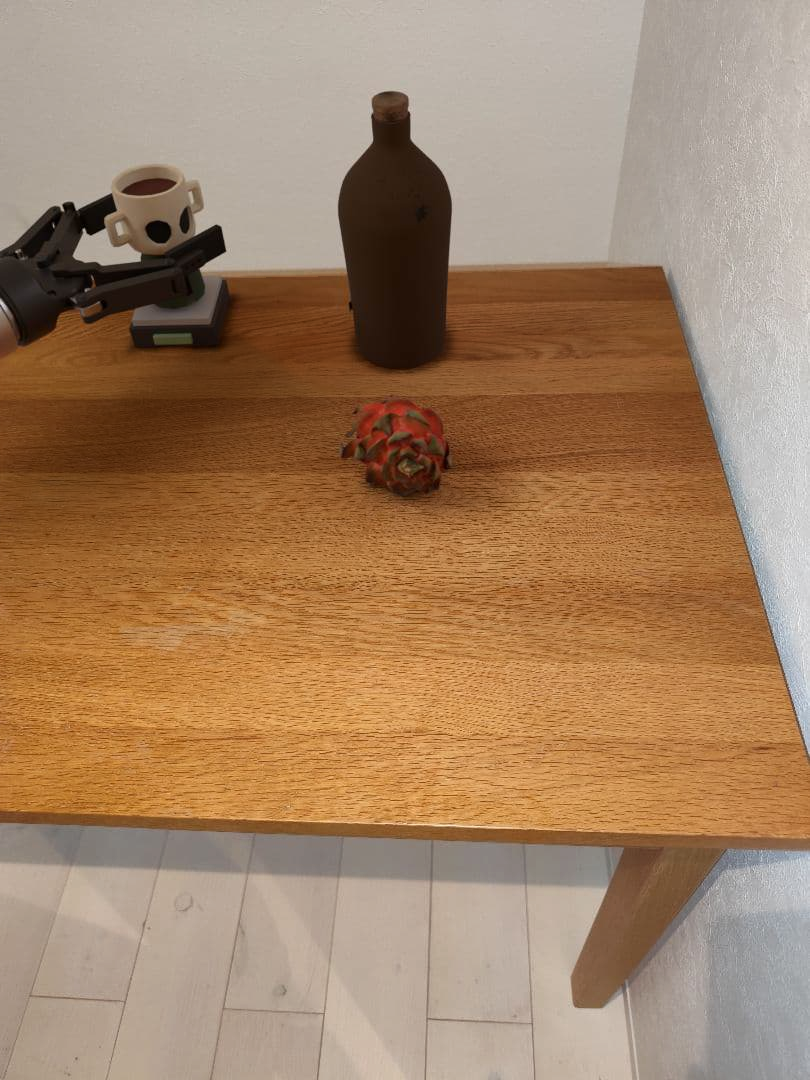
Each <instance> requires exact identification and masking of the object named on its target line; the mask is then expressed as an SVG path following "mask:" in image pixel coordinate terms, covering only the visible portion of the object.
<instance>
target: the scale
mask: <svg viewBox="0 0 810 1080" xmlns="http://www.w3.org/2000/svg"><path fill="white" fill-rule="evenodd" d="M202 277H203V281H204V284H205V294H204V295H203V296H202V297H201V298H200V299H199V300H198V301H195V298H194V294H193V293H192V294H190V295H189V296H187V300H188V304H189V305H188V306H186V307H181V308H176V309H168V308H160V307H158V306H156V305H155V304H152V305H148V306H144V307H140V308H136V309H134V311H133V315H132V317H131V322H130V325H129V327H128V330H129V333H130V337H131V340H132V343H133V347H134V348H168V347H169V348H170V347H173V348H174V347H213V346H215V347H217V346H219V343H220V339H221V335H222V331H223V327H224V323H225V319H226V316H227V311H228V307H229V303H230V299H231V297H230V295H231V294H230V291H229V286H228V282H227V279H223V278H222V275H221V274H220V275H218V274H217V275H213V274H212V275H202Z"/></svg>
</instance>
